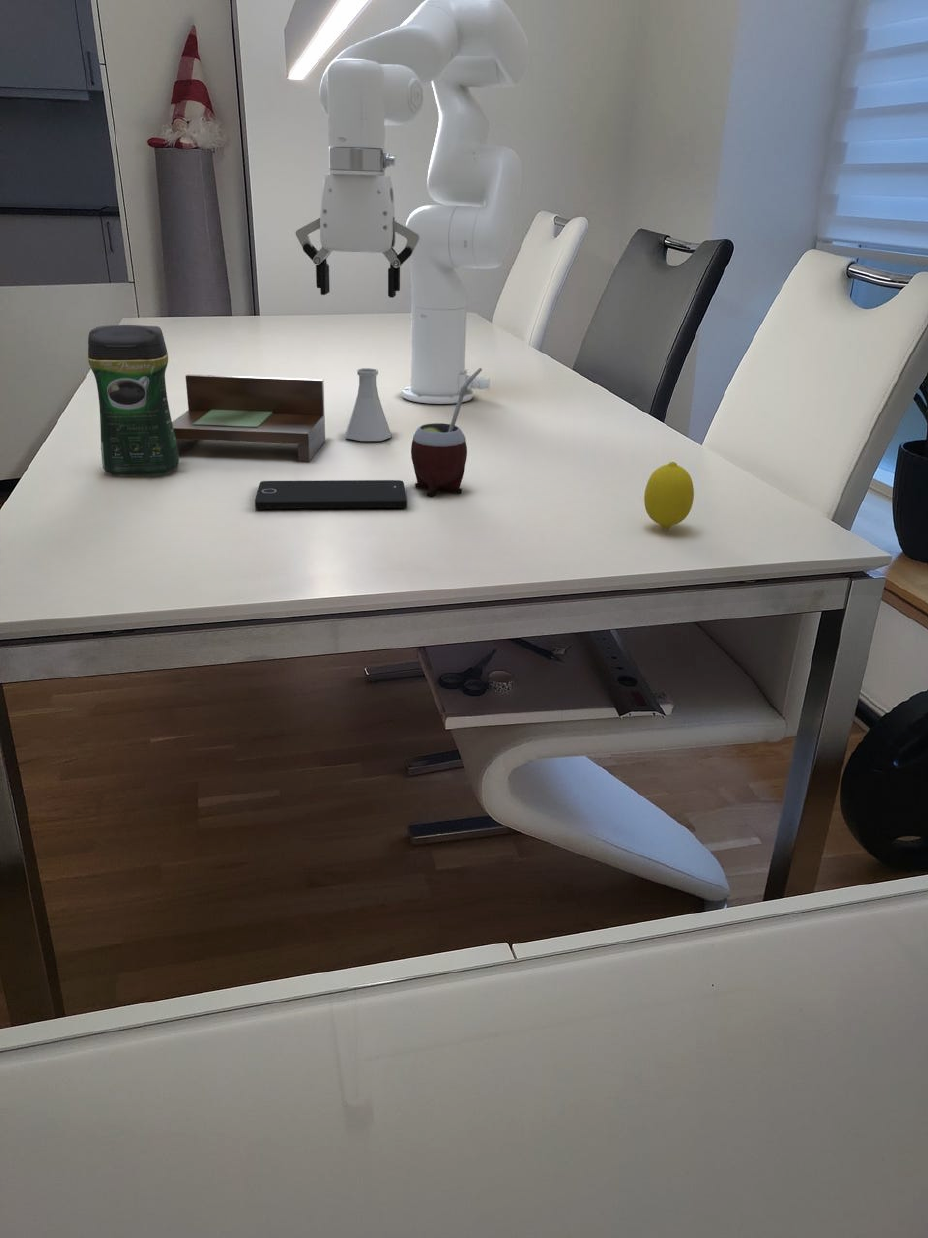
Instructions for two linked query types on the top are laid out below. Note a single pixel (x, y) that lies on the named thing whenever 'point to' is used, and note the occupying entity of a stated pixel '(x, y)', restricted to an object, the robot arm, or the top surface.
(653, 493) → the lemon
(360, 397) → the flask
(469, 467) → the top surface
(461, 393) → the mate gourd
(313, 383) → the shelf
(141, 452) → the coffee jar
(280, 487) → the cell phone
